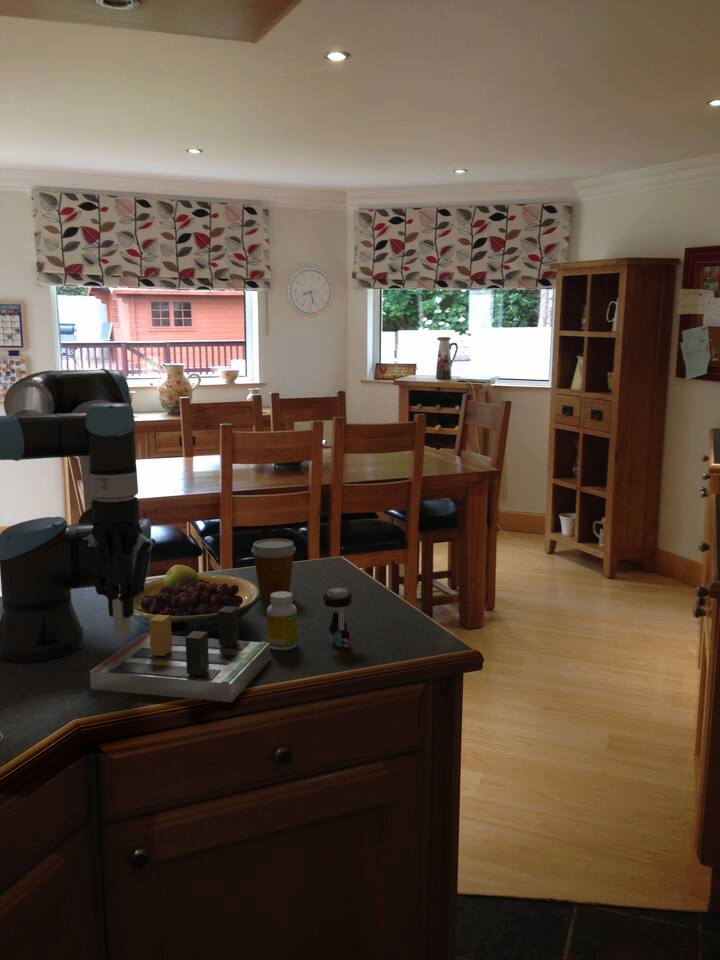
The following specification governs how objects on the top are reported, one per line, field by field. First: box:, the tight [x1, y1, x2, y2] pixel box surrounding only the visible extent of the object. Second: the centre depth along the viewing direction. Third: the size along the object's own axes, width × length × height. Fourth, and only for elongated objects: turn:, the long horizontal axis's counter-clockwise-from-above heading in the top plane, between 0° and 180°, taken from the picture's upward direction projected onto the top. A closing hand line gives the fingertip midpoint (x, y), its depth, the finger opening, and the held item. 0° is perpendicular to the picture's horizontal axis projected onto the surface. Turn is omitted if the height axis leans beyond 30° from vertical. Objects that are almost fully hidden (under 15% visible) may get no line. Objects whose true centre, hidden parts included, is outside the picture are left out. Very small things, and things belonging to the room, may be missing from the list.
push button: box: [322, 587, 353, 648], centre depth 154 cm, size 7×5×10 cm
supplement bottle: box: [266, 591, 298, 651], centre depth 153 cm, size 5×5×10 cm
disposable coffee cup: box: [250, 538, 297, 602], centre depth 182 cm, size 10×10×12 cm
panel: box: [89, 605, 271, 703], centre depth 140 cm, size 24×18×10 cm
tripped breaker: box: [148, 614, 173, 656], centre depth 141 cm, size 2×3×6 cm
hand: (122, 635), depth 142 cm, fingers closed
